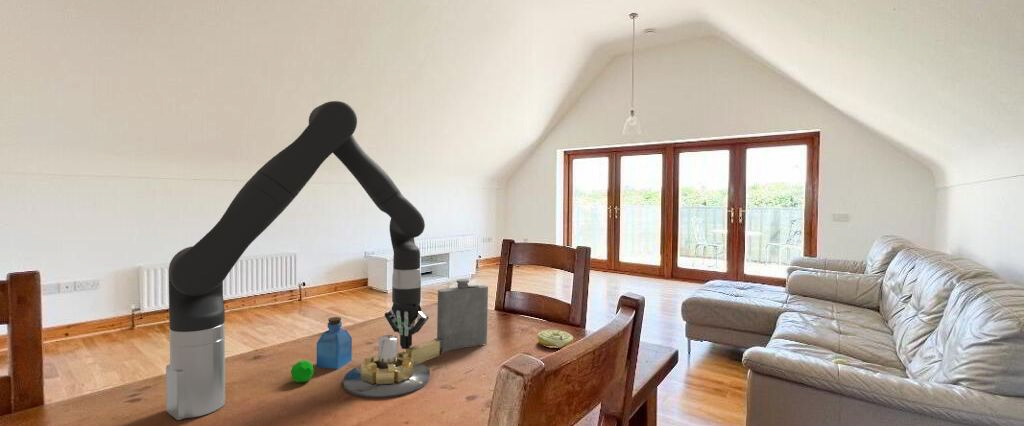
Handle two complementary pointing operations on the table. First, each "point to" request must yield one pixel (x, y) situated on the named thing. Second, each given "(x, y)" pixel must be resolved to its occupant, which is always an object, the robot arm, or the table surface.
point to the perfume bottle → (334, 346)
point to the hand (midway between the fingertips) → (406, 348)
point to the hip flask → (462, 315)
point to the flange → (386, 356)
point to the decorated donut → (555, 338)
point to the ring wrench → (400, 363)
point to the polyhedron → (302, 371)
